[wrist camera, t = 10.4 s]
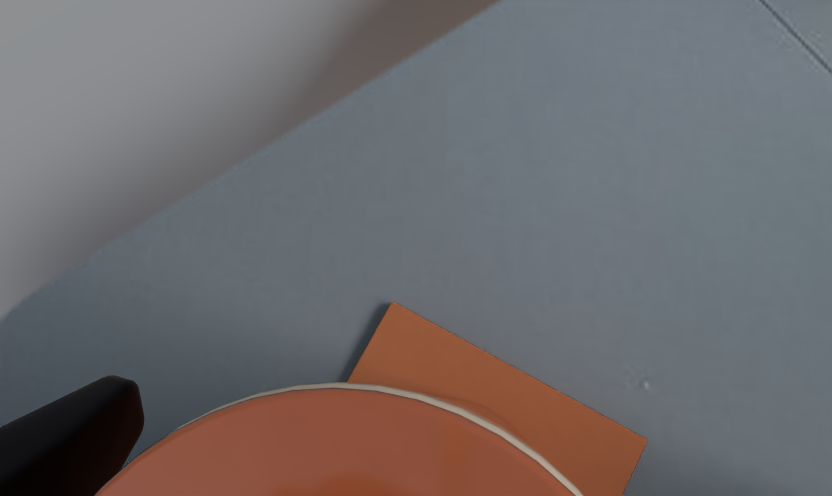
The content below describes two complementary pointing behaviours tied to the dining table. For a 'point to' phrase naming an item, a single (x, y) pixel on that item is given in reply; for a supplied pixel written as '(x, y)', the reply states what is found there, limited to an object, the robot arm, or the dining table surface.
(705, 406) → the dining table surface
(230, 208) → the dining table surface
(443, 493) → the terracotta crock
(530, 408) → the terracotta mat
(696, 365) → the dining table surface
